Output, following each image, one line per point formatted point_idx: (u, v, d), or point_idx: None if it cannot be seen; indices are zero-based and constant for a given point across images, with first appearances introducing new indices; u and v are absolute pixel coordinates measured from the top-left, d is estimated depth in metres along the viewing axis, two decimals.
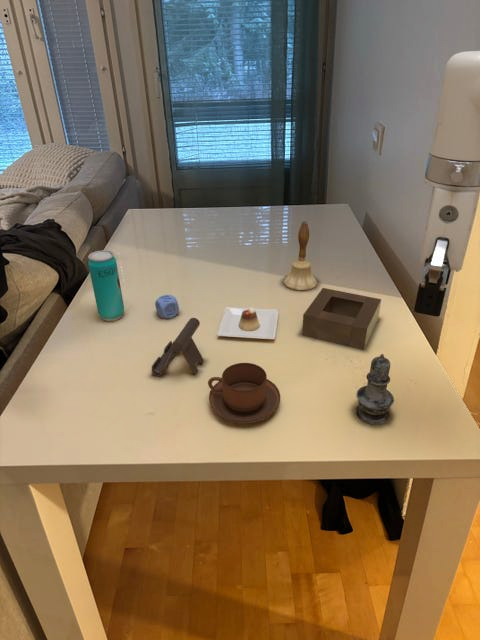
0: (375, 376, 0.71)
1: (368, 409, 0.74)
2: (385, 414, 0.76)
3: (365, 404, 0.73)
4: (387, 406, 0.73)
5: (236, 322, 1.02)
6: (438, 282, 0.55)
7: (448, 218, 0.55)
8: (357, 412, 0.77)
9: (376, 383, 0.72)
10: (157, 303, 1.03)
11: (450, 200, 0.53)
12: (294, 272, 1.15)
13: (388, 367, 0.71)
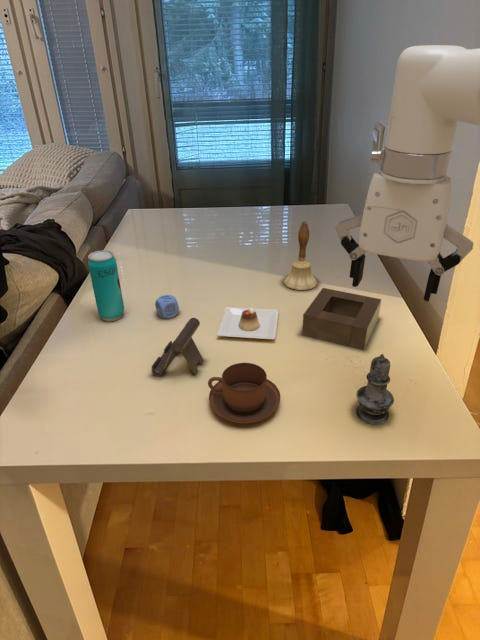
0: (375, 376, 0.71)
1: (368, 409, 0.74)
2: (385, 414, 0.76)
3: (365, 404, 0.73)
4: (387, 406, 0.73)
5: (236, 322, 1.02)
6: (341, 242, 0.64)
7: None
8: (357, 412, 0.77)
9: (376, 383, 0.72)
10: (157, 303, 1.03)
11: None
12: (294, 272, 1.15)
13: (388, 367, 0.71)
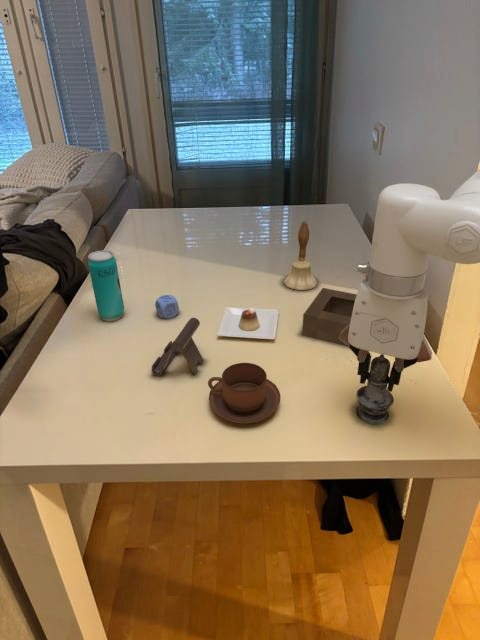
0: (375, 376, 0.71)
1: (368, 409, 0.74)
2: (385, 414, 0.76)
3: (365, 404, 0.73)
4: (387, 406, 0.73)
5: (236, 322, 1.02)
6: None
7: None
8: (357, 412, 0.77)
9: (376, 383, 0.72)
10: (157, 303, 1.03)
11: None
12: (294, 272, 1.15)
13: (388, 367, 0.71)
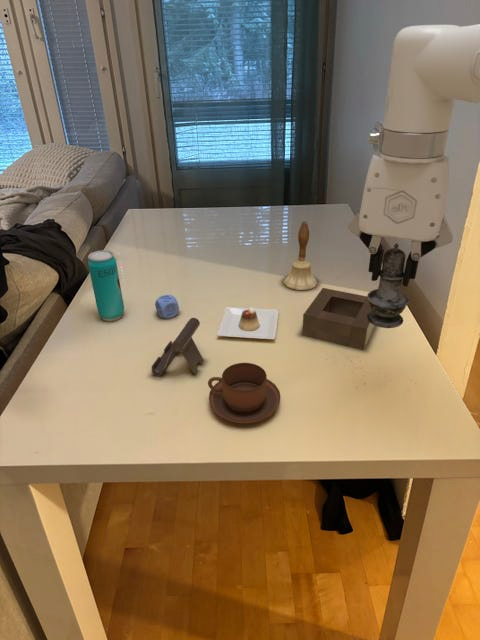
0: (389, 269, 0.64)
1: (381, 309, 0.66)
2: (399, 318, 0.69)
3: (377, 304, 0.66)
4: (402, 305, 0.66)
5: (236, 322, 1.02)
6: (360, 237, 0.65)
7: None
8: (368, 318, 0.69)
9: (390, 278, 0.64)
10: (157, 303, 1.03)
11: None
12: (294, 272, 1.15)
13: (403, 258, 0.63)
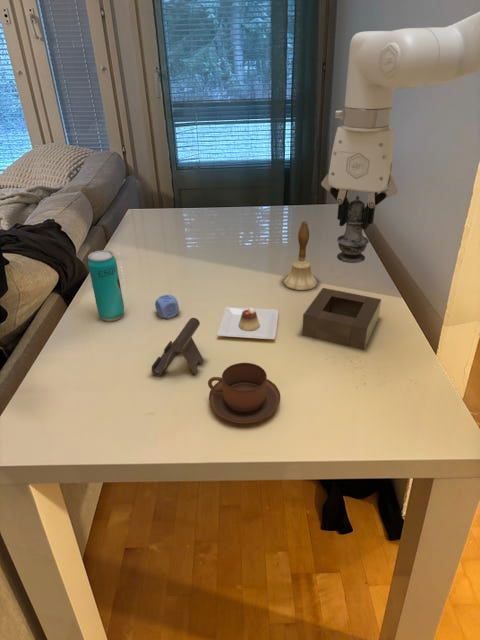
0: (352, 216, 0.84)
1: (346, 248, 0.86)
2: (361, 256, 0.89)
3: (344, 243, 0.86)
4: (362, 244, 0.86)
5: (236, 322, 1.02)
6: (330, 191, 0.85)
7: None
8: (338, 256, 0.90)
9: (353, 222, 0.85)
10: (157, 303, 1.03)
11: None
12: (294, 272, 1.15)
13: (362, 207, 0.84)
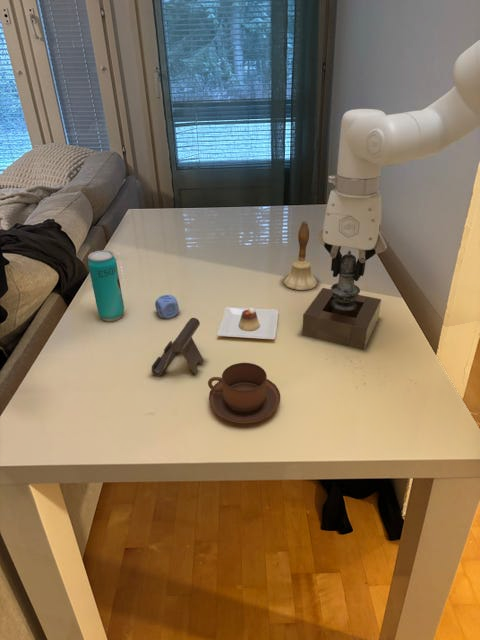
0: (344, 269, 0.91)
1: (339, 297, 0.94)
2: (353, 304, 0.96)
3: (337, 293, 0.93)
4: (354, 294, 0.93)
5: (236, 322, 1.02)
6: (324, 246, 0.92)
7: None
8: (332, 303, 0.97)
9: (345, 274, 0.92)
10: (157, 303, 1.03)
11: None
12: (294, 272, 1.15)
13: (354, 261, 0.91)
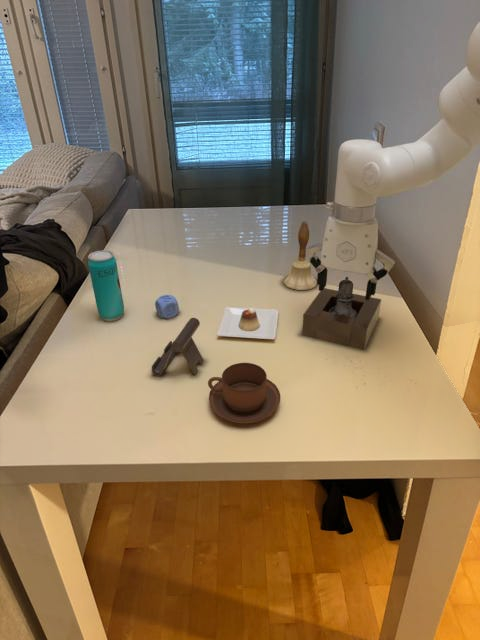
0: (342, 294, 0.94)
1: None
2: None
3: None
4: None
5: (236, 322, 1.02)
6: (310, 261, 0.95)
7: None
8: None
9: (342, 299, 0.94)
10: (157, 303, 1.03)
11: None
12: (294, 272, 1.15)
13: (351, 286, 0.93)
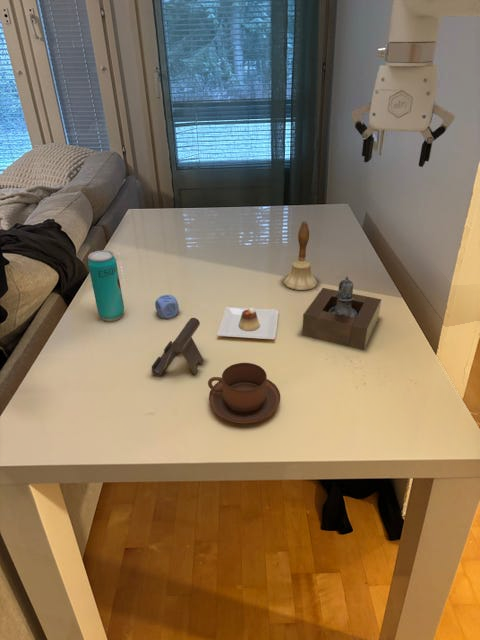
0: (342, 294, 0.94)
1: None
2: None
3: None
4: None
5: (236, 322, 1.02)
6: (355, 126, 0.84)
7: None
8: None
9: (342, 299, 0.94)
10: (157, 303, 1.03)
11: None
12: (294, 272, 1.15)
13: (351, 286, 0.93)
